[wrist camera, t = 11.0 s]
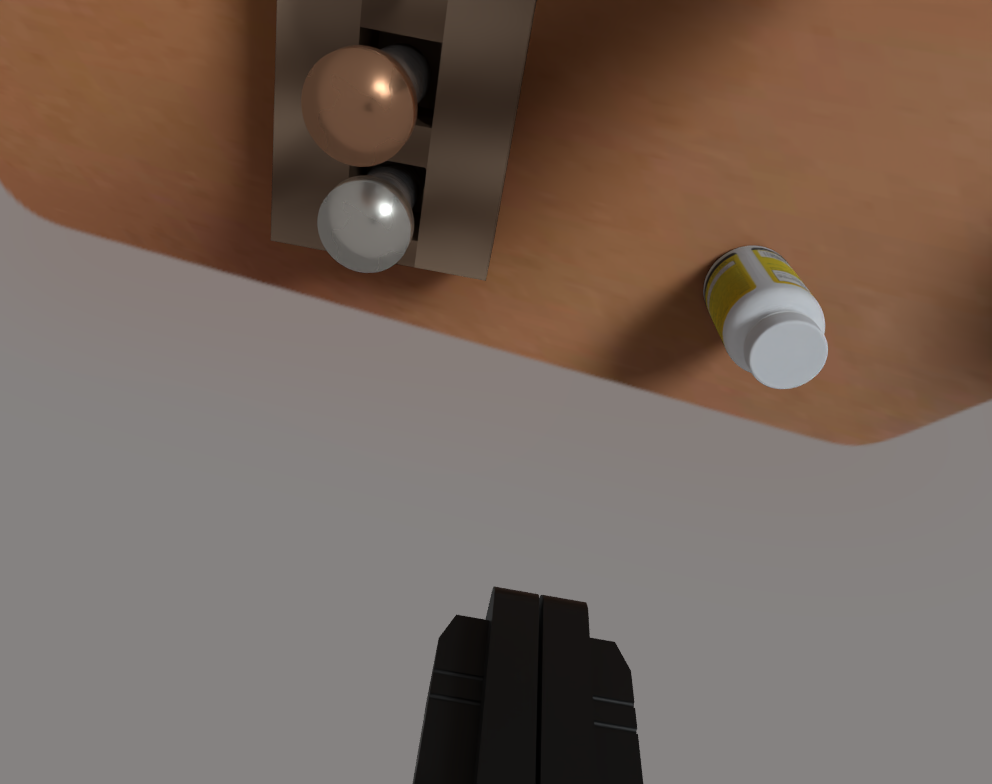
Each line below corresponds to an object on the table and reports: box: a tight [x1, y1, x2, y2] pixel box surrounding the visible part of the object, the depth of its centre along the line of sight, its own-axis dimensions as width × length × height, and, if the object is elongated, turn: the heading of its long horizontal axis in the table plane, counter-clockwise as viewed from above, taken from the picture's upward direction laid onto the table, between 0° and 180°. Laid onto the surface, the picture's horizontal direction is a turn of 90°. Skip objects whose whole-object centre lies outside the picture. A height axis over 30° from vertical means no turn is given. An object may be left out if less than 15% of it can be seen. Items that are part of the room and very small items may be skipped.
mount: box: [271, 0, 537, 281], centre depth 40 cm, size 19×12×6 cm, turn 170°
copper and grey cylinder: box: [301, 43, 431, 167], centre depth 34 cm, size 4×4×10 cm
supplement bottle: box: [703, 246, 828, 389], centre depth 44 cm, size 5×5×10 cm
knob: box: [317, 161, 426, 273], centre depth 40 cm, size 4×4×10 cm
